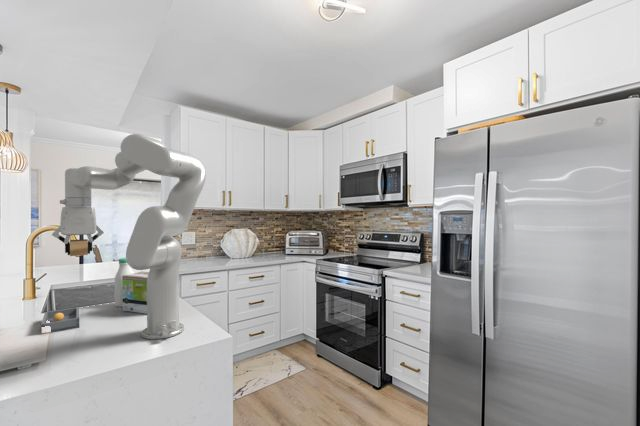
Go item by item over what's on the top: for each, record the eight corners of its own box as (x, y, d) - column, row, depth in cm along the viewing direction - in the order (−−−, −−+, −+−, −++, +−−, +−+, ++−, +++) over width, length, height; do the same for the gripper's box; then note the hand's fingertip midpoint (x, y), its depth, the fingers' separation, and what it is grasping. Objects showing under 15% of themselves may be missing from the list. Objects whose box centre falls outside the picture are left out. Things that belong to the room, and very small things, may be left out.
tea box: (121, 311, 127) (121, 275, 127) (142, 304, 137) (141, 270, 137) (151, 315, 123) (151, 277, 123) (170, 307, 132) (170, 272, 132)
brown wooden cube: (87, 254, 113) (87, 240, 113) (70, 256, 110) (69, 240, 110) (87, 253, 117) (87, 239, 117) (70, 254, 114) (70, 240, 114)
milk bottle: (125, 307, 132) (125, 260, 133) (110, 306, 134) (109, 259, 134) (139, 302, 140) (139, 257, 140) (124, 301, 142) (124, 257, 142)
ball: (63, 322, 114) (66, 315, 114) (53, 323, 112) (56, 316, 112) (61, 318, 116) (64, 310, 116) (51, 318, 114) (53, 311, 113)
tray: (79, 327, 109) (79, 318, 109) (41, 334, 103) (40, 324, 103) (79, 315, 123) (79, 307, 123) (45, 320, 117) (45, 312, 117)
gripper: (46, 202, 105) (46, 257, 105) (107, 203, 115) (108, 253, 115) (47, 203, 111) (48, 255, 111) (106, 203, 121) (106, 251, 121)
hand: (79, 253), depth 113 cm, fingers closed on brown wooden cube, 5 cm apart
